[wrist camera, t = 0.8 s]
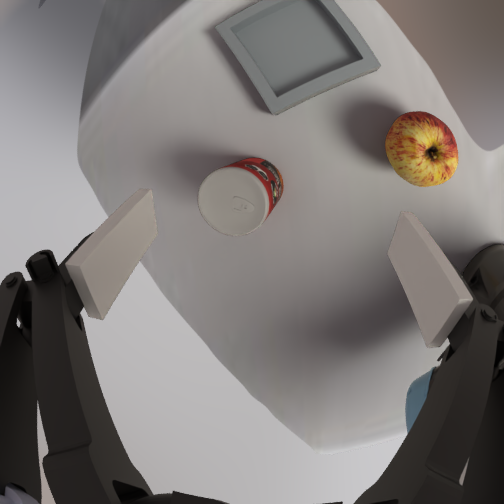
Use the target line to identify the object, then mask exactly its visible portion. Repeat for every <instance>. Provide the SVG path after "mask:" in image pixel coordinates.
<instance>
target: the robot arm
mask: <svg viewBox="0 0 504 504" xmlns="http://www.w3.org/2000/svg"><path fill="white" fill-rule="evenodd" d="M157 235H158V230H157V224H156V217H155V210H154V203H153V195H152V189H139V190H138V191H136V192H135V193H134V194H133V195H132V196H131V197H130V198H129V199H128V200H127V201H125V202H124V203H123V204H122V205H121V206H120V207H119V208H118V209H117V210H116V211H115V212H114V213H113V214H112V215H111V216H110V217H109V218H108V219H107V220H106V221H105V222H104V223H103V224H102V225H101V226H100V227H99V228H98V229H97V230H96V231H95V232H93V233H91V234H89V235H88V236H86V237H85V238H84V239H83V240H82V241H81V242H80V243H79V244H78V246H76V247H75V248H74V249H73V251H71V253H70V254H69V255H68V256H67V257H66V258H65V259H64V260H63V261H62V263H61V264H60V265H59V266H58V265H57V262H56V260H55V257H54V255H53V252H52V251H51V250H42V251H39V252H37V253H35V254H34V255H32V256H31V257H30V258H29V259H28V260H27V262H26V268H27V270H28V272H29V274H30V276H31V278H32V280H31V281H25V279H24V277H23V275H22V273H21V272H14V273H10V274H9V275H8V276H6V278H5V279H4V280H3V281H2V283H1V285H0V504H41V499H42V495H41V477H40V467H39V456H38V439H37V401H38V404H39V409H40V415H41V419H42V424H43V429H44V432H45V437H46V441H47V444H48V450H49V451H48V454H47V455H46V456H45V457H44V458H43V463H42V464H43V469H44V473H45V476H46V479H47V482H48V485H49V487H50V490H51V493H52V495H53V498H54V500H55V503H56V504H228V503H226V502H223V501H219V500H215V499H209V498H204V497H198V496H193V495H189V494H184V493H180V492H175V491H173V493H172V494H170V493H169V494H168V493H167V494H157V495H153V493H152V491H151V490H150V488H149V486H148V485H147V483H146V481H145V480H144V478H143V477H142V475H141V474H140V473H139V471H138V470H137V469H136V468H135V467H134V466H133V464H132V463H131V461H130V459H129V457H128V455H127V453H126V451H125V449H124V446H123V444H122V442H121V440H120V437H119V435H118V433H117V430H116V428H115V426H114V423H113V421H112V418H111V415H110V413H109V410H108V407H107V405H106V402H105V399H104V397H103V393H102V390H101V387H100V384H99V381H98V378H97V374H96V371H95V368H94V364H93V360H92V357H91V353H90V349H89V345H88V340H87V336H86V332H85V327H84V322H83V318H82V316H81V314H80V312H81V311H82V309H83V307H84V308H85V310H86V312H87V314H88V316H89V317H92V318H96V319H100V320H103V319H104V318H105V316H106V314H107V313H108V311H109V309H110V307H111V306H112V304H113V302H114V301H115V299H116V297H117V296H118V294H119V293H120V291H121V289H122V288H123V286H124V284H125V283H126V281H127V280H128V278H129V276H130V275H131V273H132V272H133V270H134V269H135V267H136V266H137V264H138V263H139V261H140V260H141V258H142V257H143V255H144V254H145V252H146V251H147V249H148V248H149V246H150V245H151V243H152V242H153V240H154V239H155V238H156V236H157ZM387 255H388V257H389V259H390V261H391V263H392V265H393V267H394V269H395V271H396V273H397V275H398V278H399V280H400V282H401V284H402V286H403V289H404V291H405V293H406V295H407V298H408V300H409V302H410V305H411V307H412V310H413V312H414V315H415V317H416V320H417V322H418V325H419V327H420V330H421V333H422V335H423V338H424V341H425V344H426V347H427V348H432V347H440V346H441V345H442V344H443V343H444V341H445V340H446V339H447V337H448V339H449V342H450V344H449V346H448V347H447V348H446V350H445V351H444V352H443V353H442V354H441V356H440V357H439V358H438V360H437V361H440V360H441V358H443V359H442V362H441V364H440V365H439V366H438V367H433V368H432V369H431V370H430V371H429V372H427V373H426V374H424V375H422V376H421V377H419V378H417V379H416V380H415V381H413V383H412V384H411V385H410V387H409V389H408V392H407V398H406V408H405V412H406V426H407V432H408V435H407V436H406V438H405V440H404V441H403V443H402V445H401V447H400V448H399V450H398V451H397V453H396V455H395V456H394V458H393V459H392V461H391V462H390V464H389V465H388V467H387V468H386V470H385V471H384V472H383V474H382V475H381V477H380V478H379V480H378V481H377V482H376V483H375V484H374V485H372V486H371V487H370V488H369V489H367V490H366V491H365V492H364V493H363V494H362V495H361V496H360V497H359V498H358V499H357V500H356V501H355V503H354V504H504V245H501V244H498V245H493V246H490V247H488V248H486V249H484V250H482V251H481V252H480V253H479V254H477V255H476V256H475V257H474V258H473V259H472V261H471V262H470V263H469V264H468V266H467V267H466V269H465V271H464V272H463V274H462V275H461V273H460V272H459V270H458V269H457V268H456V267H455V266H454V265H453V264H451V263H450V262H449V260H448V259H447V257H446V256H445V254H444V253H443V252H442V250H441V249H440V247H439V246H438V245H437V243H436V242H435V241H434V239H433V238H432V237H431V235H430V234H429V233H428V231H427V230H426V229H425V228H424V226H423V225H422V224H421V222H420V221H419V220H418V219H417V218H416V216H415V215H414V214H413V213H410V212H404V211H401V213H400V216H399V220H398V223H397V226H396V229H395V232H394V235H393V238H392V241H391V244H390V247H389V250H388V253H387ZM17 318H18V320H19V321H20V323H21V324H20V327H18V326H17V324H16V323H17ZM342 503H343V502H334V503H325V504H342Z"/></svg>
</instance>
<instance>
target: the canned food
mask: <svg viewBox="0 0 504 504" xmlns="http://www.w3.org/2000/svg"><path fill="white" fill-rule="evenodd" d="M282 193H283V180H282V177H281V174H280V173H279V171H278V170H277V168H276V167H275V166H274V165H272V164H271V163H270V162H268V161H266V160H263V159H260V158H248V159H245V160H241V161H239V162H236V163H233V164H230V165H227V166H225V167H222V168H220V169H217V170H216V171H214V172H212V173H211V174H209V175H208V176H207V177H206V178H205V179H204V181H203V182H202V183H201V186H200V188H199V191H198V206H199V210H200V212H201V215H202V216H203V218H204V220H205V221H206V222H207V223H208V224H209V225H210V226H211V227H212V228H213V229H215V230H217V231H218V232H220V233H223V234H225V235H230V236H242V235H247V234H249V233H251V232H253V231H255V230H256V229H257V228H259V227H260V226H261V225H262V223H263V222H264V221H265V220H266V218H267V217H268V215H269V214H270V213H271V211H272V210H273V208H274V207H275V205H276V204H277V202H278V201H279V199H280V198H281V196H282Z"/></svg>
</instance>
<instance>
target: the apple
mask: <svg viewBox="0 0 504 504" xmlns="http://www.w3.org/2000/svg"><path fill="white" fill-rule="evenodd" d="M385 149H386V154H387V157H388V159H389V162H390V163H391V165H392V167H393V168H394V170H395V171H396V173H397V174H398V175H399V176H400V177H402V178H403V179H404V180H406V181H407V182H409V183H411V184H413V185H415V186H419V187H427V186H434V185H438V184H441V183H444V182H446V181H447V180H449V179H450V178H451V177H452V175H453V174H454V172H455V170H456V168H457V164H458V150H457V144H456V141H455V138H454V136H453V134H452V132H451V130H450V129H449V128H448V126H447V125H446V124H445V123H444V122H442V121H441V120H440V119H438V118H437V117H435V116H434V115H432V114H429V113H427V112H421V111H417V112H409V113H405V114H403V115H401V116H400V117H399V118H397V119H396V121H395V122H394V123H393V125H392V126H391V128H390V130H389V132H388V134H387V136H386V140H385Z"/></svg>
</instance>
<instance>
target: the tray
mask: <svg viewBox="0 0 504 504" xmlns="http://www.w3.org/2000/svg"><path fill="white" fill-rule="evenodd" d="M215 28H216V30H217V31H218V32H219V34H220V35H221V37H222V38H223V39H224V41H225V42H226V44H227V45H228V46H229V48H230V49H231V51H232V52H233V54H234V55H235V56H236V58H237V59H238V61H239V62H240V64H241V65H242V67H243V68H244V70H245V71H246V73H247V75H248V76H249V78H250V79H251V81H252V82H253V84H254V85H255V87H256V89H257V90H258V92H259V93H260V95H261V97H262V98H263V100H264V102H265V103H266V105H267V107H268V108H269V110H270V112H271V113H272V114H273V115H278V114H280V113H282V112H284V111H286V110H288V109H290V108H292V107H294V106H296V105H298V104H300V103H302V102H304V101H306V100H308V99H310V98H312V97H314V96H317V95H319V94H321V93H323V92H325V91H328V90H330V89H332V88H335V87H337V86H339V85H342V84H344V83H346V82H349V81H351V80H354V79H356V78H359V77H361V76H364V75H366V74H369V73H372V72H374V71H377V70H378V69H379V68H380V66H381V65H380V63H379V61H378V60H377V58H376V57H375V55H374V53H373V52H372V50H371V49H370V47H369V46H368V44H367V43H366V41H365V40H364V39H363V37H362V36H361V34H360V33H359V31H358V30H357V29H356V27H355V26H354V25H353V23H352V22H351V21H350V19H349V18H348V17H347V16H346V14H345V13H344V12H343V11H342V9H341V8H340V7H339V6H338V5H337V3H336V2H335V1H334V0H262V1H260V2H258V3H256V4H254V5H252V6H250V7H248V8H246V9H244V10H242V11H241V12H239V13H237V14H235V15H234V16H232V17H230V18H228V19H227V20H225V21H223V22H222V23H220V24H219V25H217V26H215Z"/></svg>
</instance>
